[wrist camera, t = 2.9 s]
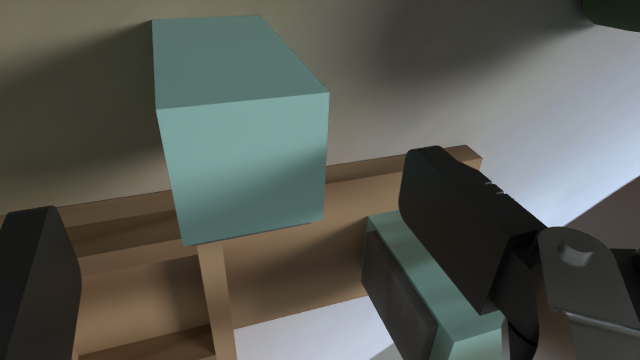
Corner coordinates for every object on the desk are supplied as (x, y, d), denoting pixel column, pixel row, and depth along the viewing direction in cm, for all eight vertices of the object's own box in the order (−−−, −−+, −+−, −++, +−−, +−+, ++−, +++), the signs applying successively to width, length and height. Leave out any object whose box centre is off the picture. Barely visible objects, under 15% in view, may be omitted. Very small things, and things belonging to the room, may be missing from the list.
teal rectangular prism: (151, 19, 15) (155, 110, 9) (260, 15, 16) (329, 92, 10) (172, 130, 18) (185, 259, 12) (264, 119, 19) (322, 232, 13)
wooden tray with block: (-7, 217, 17) (-120, 461, 10) (466, 144, 24) (609, 260, 17) (61, 349, 22) (19, 576, 15) (436, 259, 29) (535, 386, 22)
